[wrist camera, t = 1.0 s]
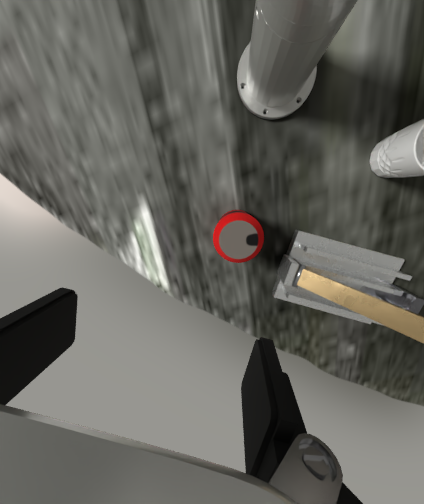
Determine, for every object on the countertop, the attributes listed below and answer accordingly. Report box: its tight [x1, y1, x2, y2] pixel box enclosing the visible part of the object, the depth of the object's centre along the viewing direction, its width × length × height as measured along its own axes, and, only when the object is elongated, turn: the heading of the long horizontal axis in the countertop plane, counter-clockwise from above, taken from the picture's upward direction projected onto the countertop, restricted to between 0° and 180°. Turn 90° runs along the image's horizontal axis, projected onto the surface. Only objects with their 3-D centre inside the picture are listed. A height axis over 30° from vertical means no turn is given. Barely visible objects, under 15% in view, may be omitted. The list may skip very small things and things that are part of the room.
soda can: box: [213, 210, 264, 263], centre depth 35 cm, size 8×8×12 cm
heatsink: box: [272, 229, 424, 326], centre depth 38 cm, size 14×22×8 cm, turn 75°
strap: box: [292, 264, 424, 343], centre depth 30 cm, size 4×18×1 cm
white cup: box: [370, 119, 424, 178], centre depth 31 cm, size 8×8×10 cm
